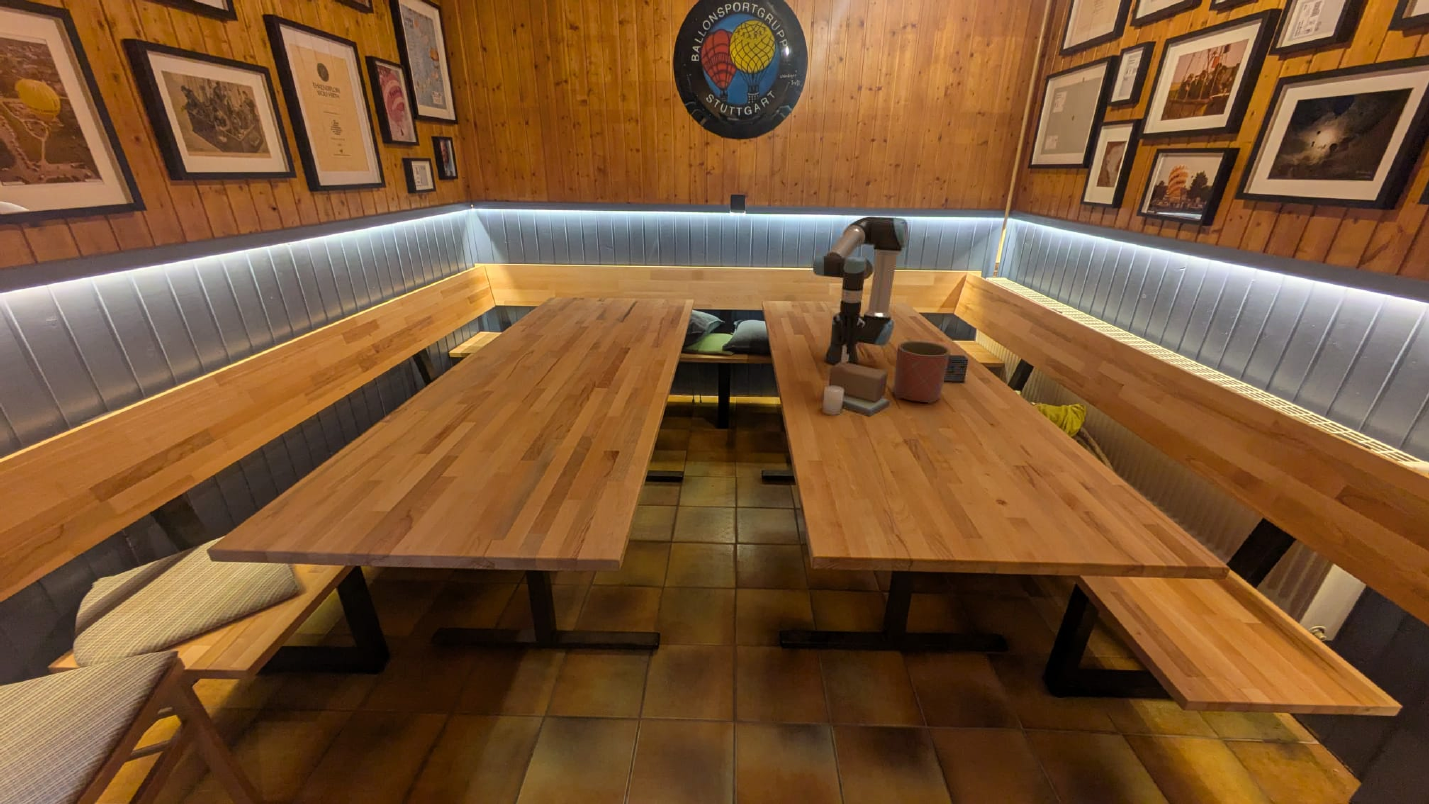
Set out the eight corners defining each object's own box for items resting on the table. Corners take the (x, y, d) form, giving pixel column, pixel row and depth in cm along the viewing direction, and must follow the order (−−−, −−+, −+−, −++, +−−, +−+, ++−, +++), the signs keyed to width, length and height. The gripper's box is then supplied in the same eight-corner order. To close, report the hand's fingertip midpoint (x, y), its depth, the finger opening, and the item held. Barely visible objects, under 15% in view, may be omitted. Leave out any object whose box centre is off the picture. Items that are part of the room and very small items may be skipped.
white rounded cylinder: (818, 411, 208) (820, 389, 204) (829, 405, 212) (831, 384, 209) (834, 416, 203) (837, 394, 200) (845, 411, 208) (847, 389, 204)
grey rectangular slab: (826, 401, 216) (827, 395, 215) (846, 392, 225) (847, 386, 224) (870, 416, 204) (870, 410, 203) (889, 405, 213) (889, 399, 212)
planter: (943, 391, 227) (951, 344, 219) (939, 408, 211) (948, 358, 203) (894, 383, 234) (901, 338, 226) (887, 400, 218) (894, 351, 210)
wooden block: (838, 383, 227) (885, 395, 216) (827, 391, 219) (875, 403, 209) (840, 360, 223) (888, 370, 212) (829, 367, 215) (879, 378, 205)
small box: (960, 377, 241) (964, 354, 237) (964, 383, 235) (969, 359, 231) (935, 376, 242) (939, 353, 238) (939, 382, 236) (943, 358, 232)
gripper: (830, 299, 205) (824, 359, 215) (861, 305, 197) (854, 367, 206) (841, 296, 210) (835, 355, 220) (872, 301, 202) (864, 363, 211)
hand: (844, 361), depth 213 cm, fingers closed
